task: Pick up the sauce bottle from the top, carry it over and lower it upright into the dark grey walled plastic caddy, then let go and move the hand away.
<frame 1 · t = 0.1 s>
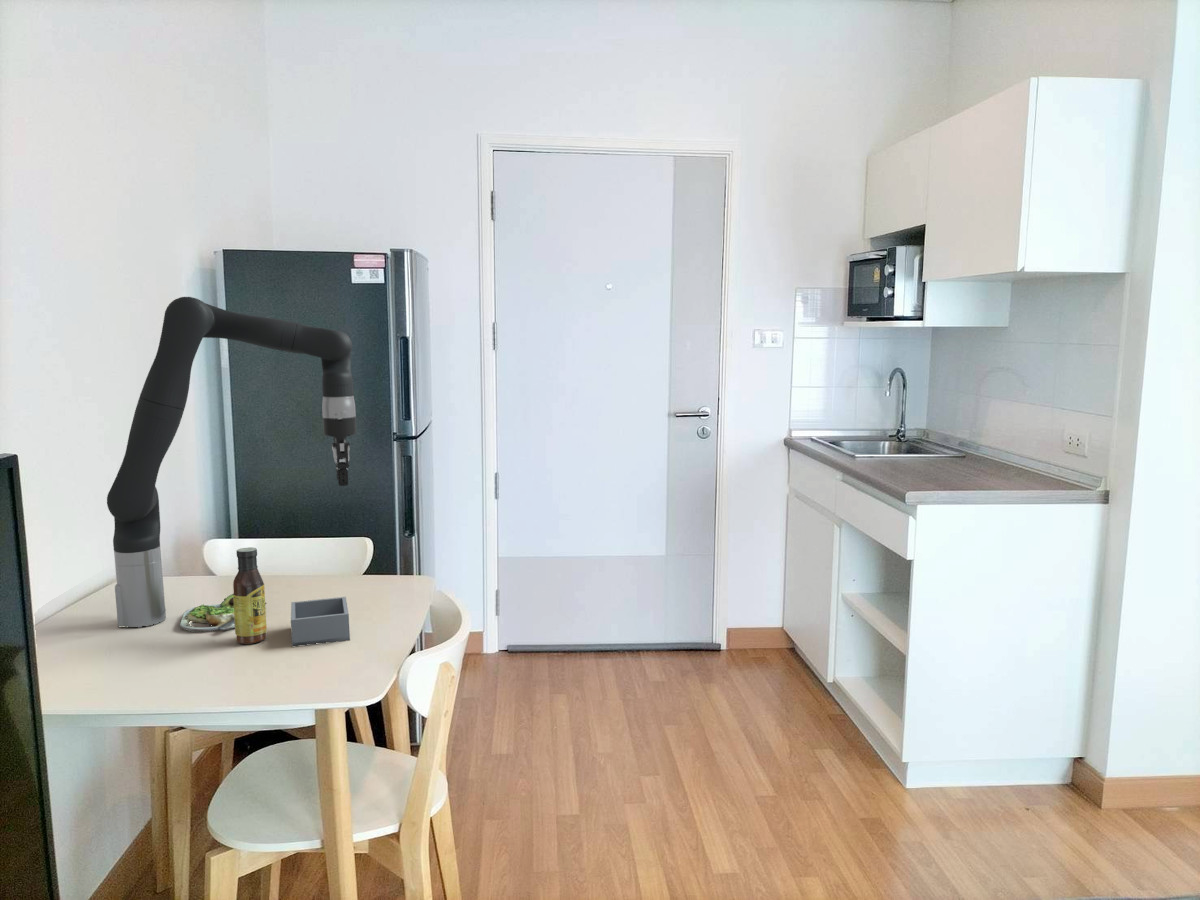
hand: (342, 482, 207), 29 cm above the table, tool pointing down, fingers open, 8 cm apart
bottle caddy: (320, 633, 188), on the table
sauce bottle: (252, 640, 184), on the table
salad plate: (223, 621, 198), on the table
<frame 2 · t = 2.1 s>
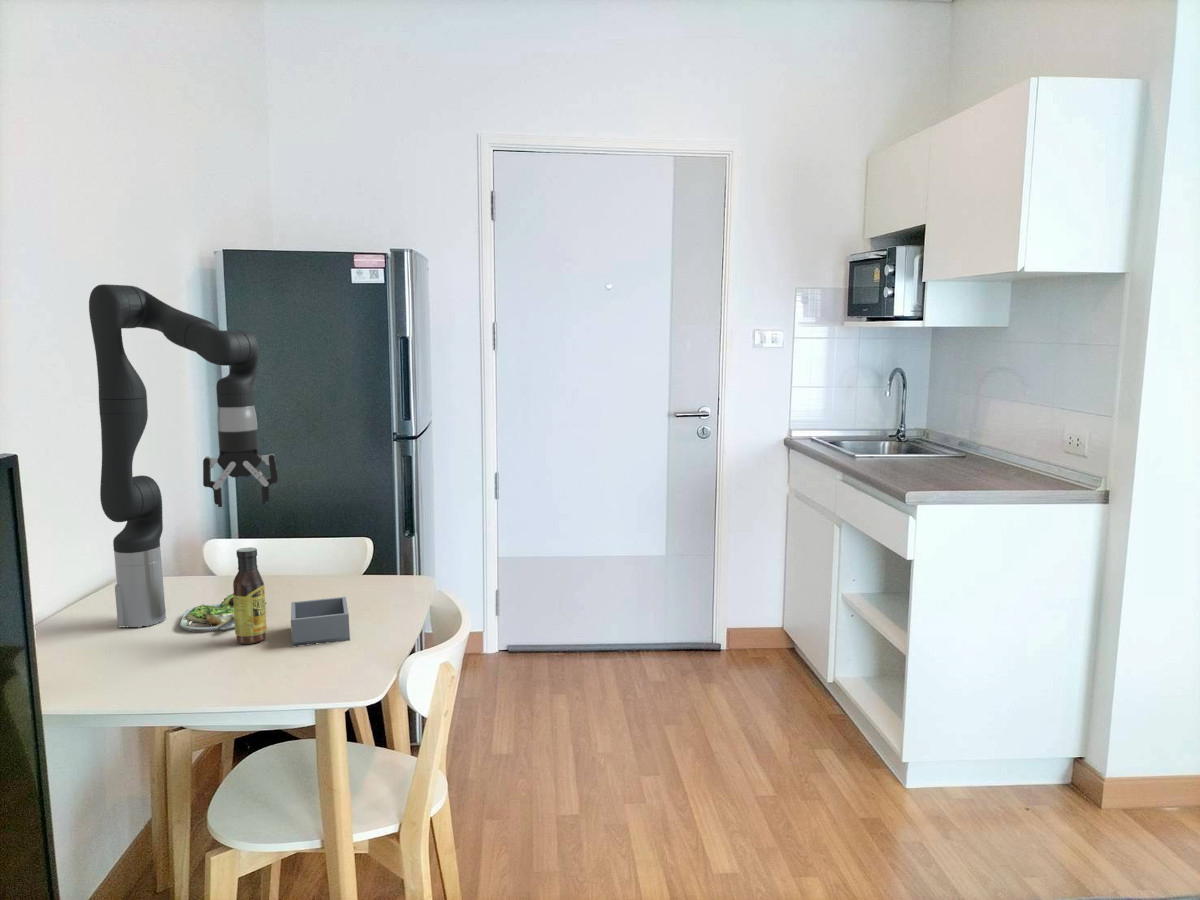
hand: (242, 505, 180), 29 cm above the table, tool pointing down, fingers open, 8 cm apart
nothing on the table moved.
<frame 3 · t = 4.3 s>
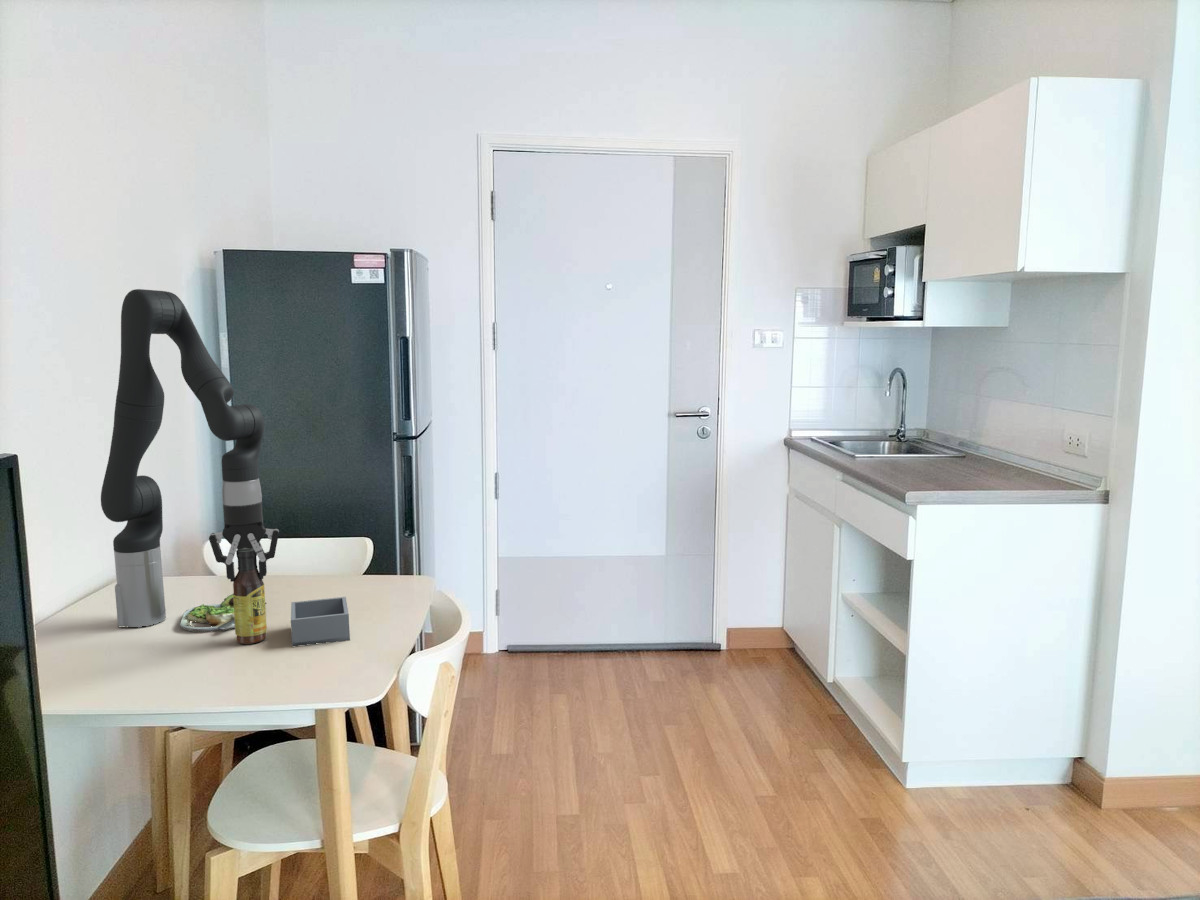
hand: (247, 578, 182), 13 cm above the table, tool pointing down, fingers closed on sauce bottle, 5 cm apart
sauce bottle: (252, 640, 184), on the table, touching gripper
everything else where it was.
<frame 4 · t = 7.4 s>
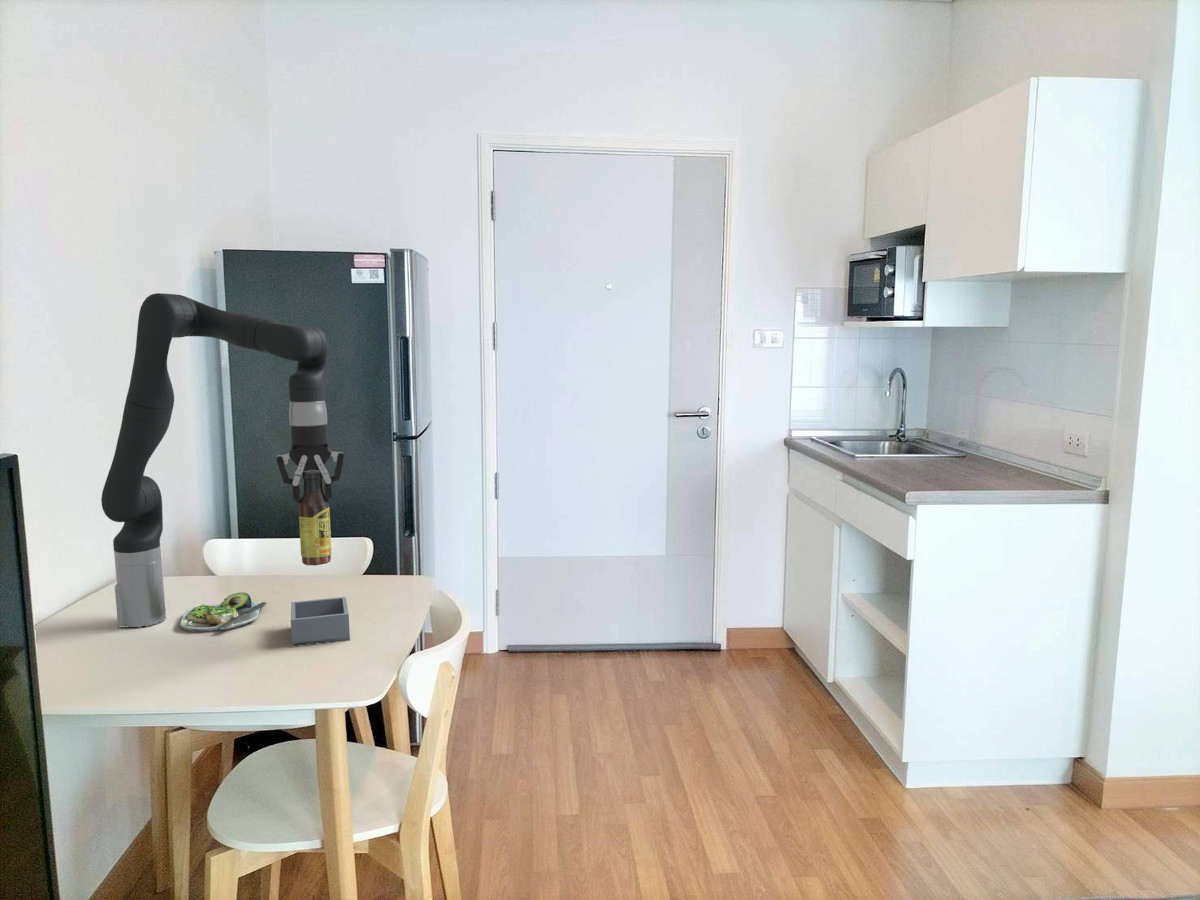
hand: (313, 501, 184), 29 cm above the table, tool pointing down, fingers closed on sauce bottle, 5 cm apart
sauce bottle: (317, 563, 186), point 16 cm above the table, touching gripper
everything else where it was.
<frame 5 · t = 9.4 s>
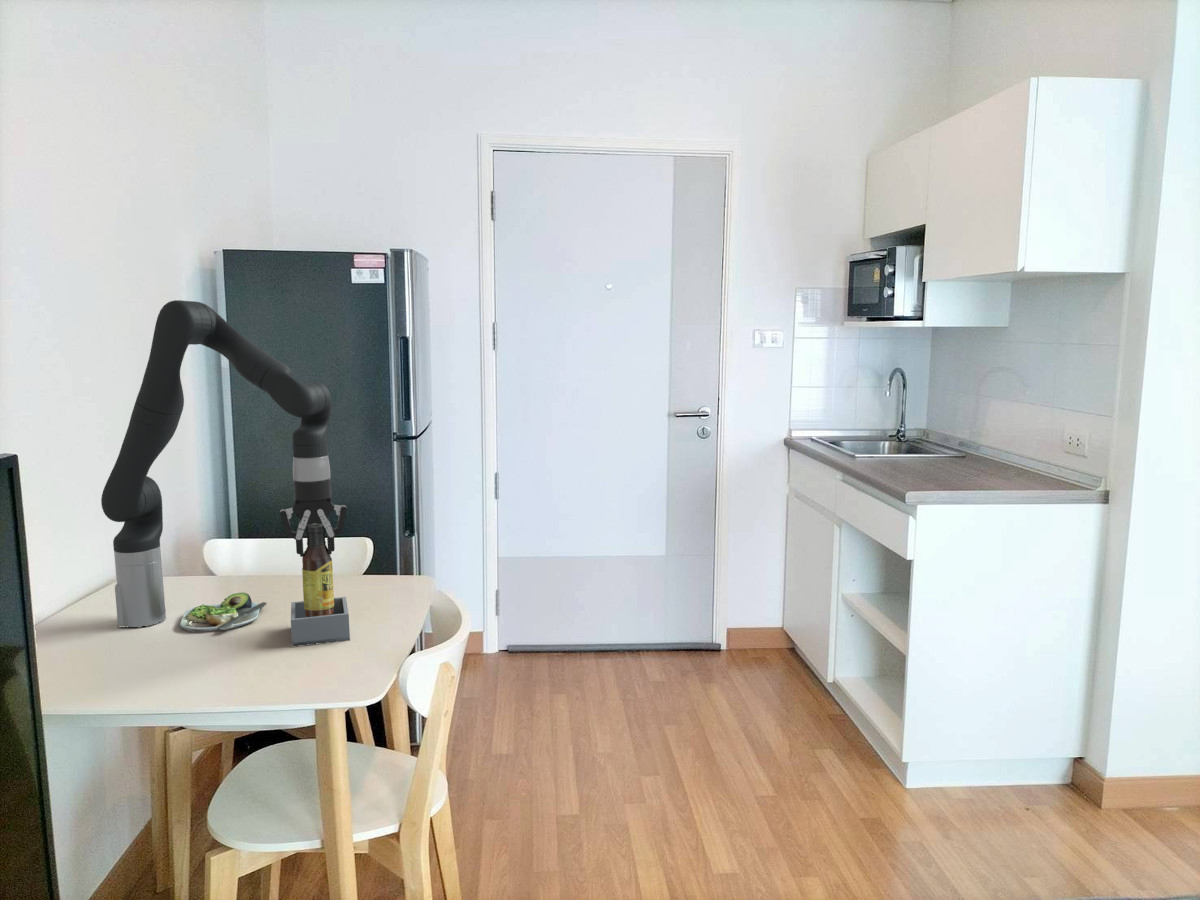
hand: (316, 554, 185), 18 cm above the table, tool pointing down, fingers closed on sauce bottle, 5 cm apart
sauce bottle: (319, 615, 187), point 4 cm above the table, touching gripper
everything else where it was.
when the fingers open (16 cm above the table, at t = 10.8 s): sauce bottle drops 1 cm, resting on bottle caddy.
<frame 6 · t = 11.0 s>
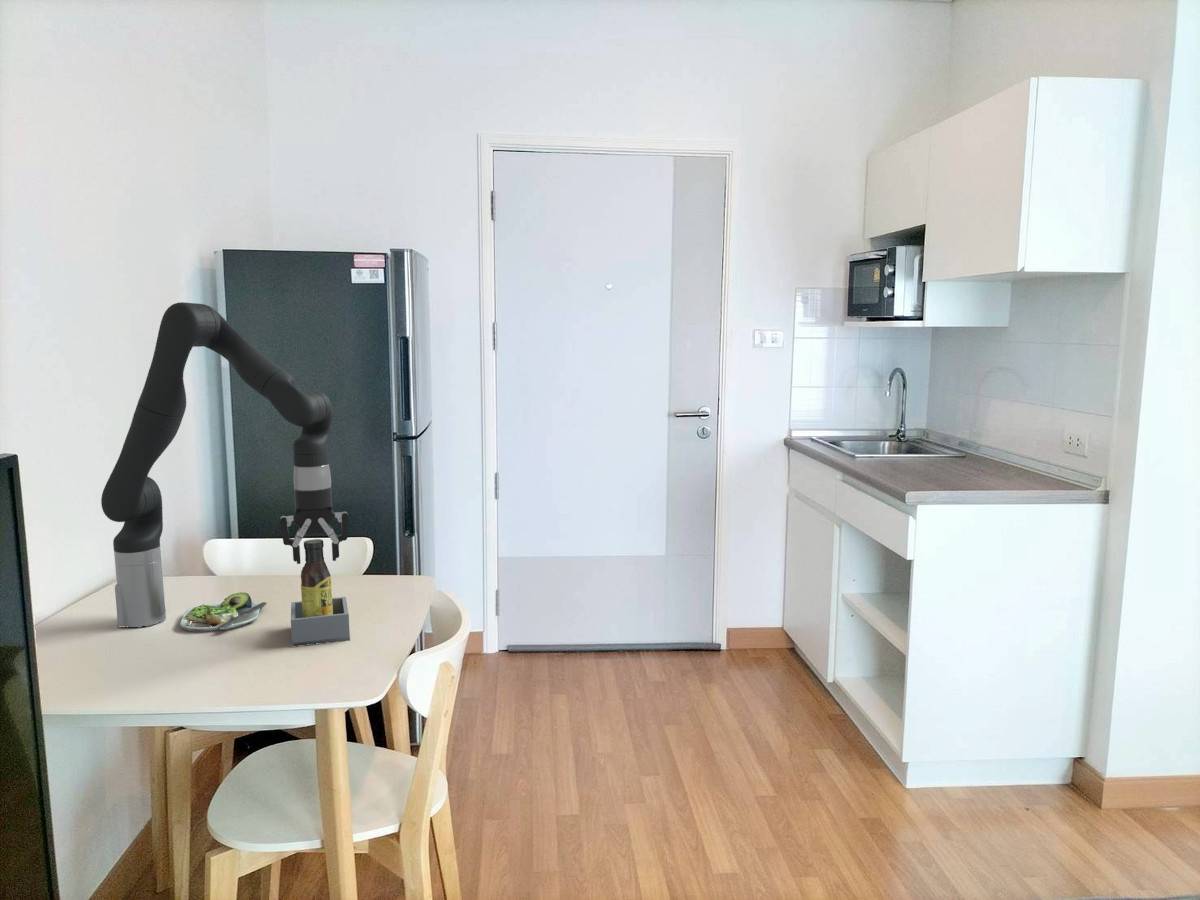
hand: (316, 561, 186), 16 cm above the table, tool pointing down, fingers open, 6 cm apart
sauce bottle: (319, 630, 188), point 1 cm above the table, touching bottle caddy
everything else where it was.
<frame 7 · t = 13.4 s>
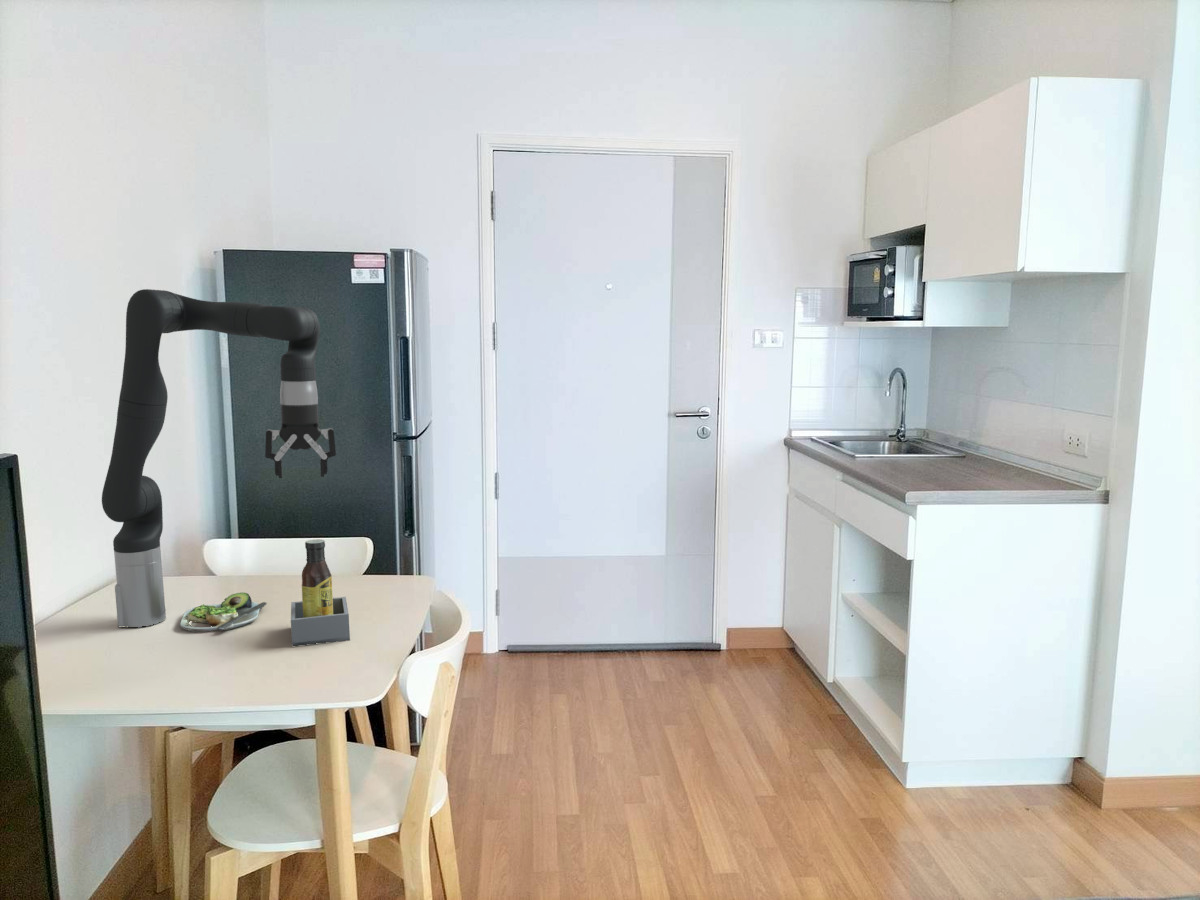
hand: (301, 476, 186), 34 cm above the table, tool pointing down, fingers open, 8 cm apart
nothing on the table moved.
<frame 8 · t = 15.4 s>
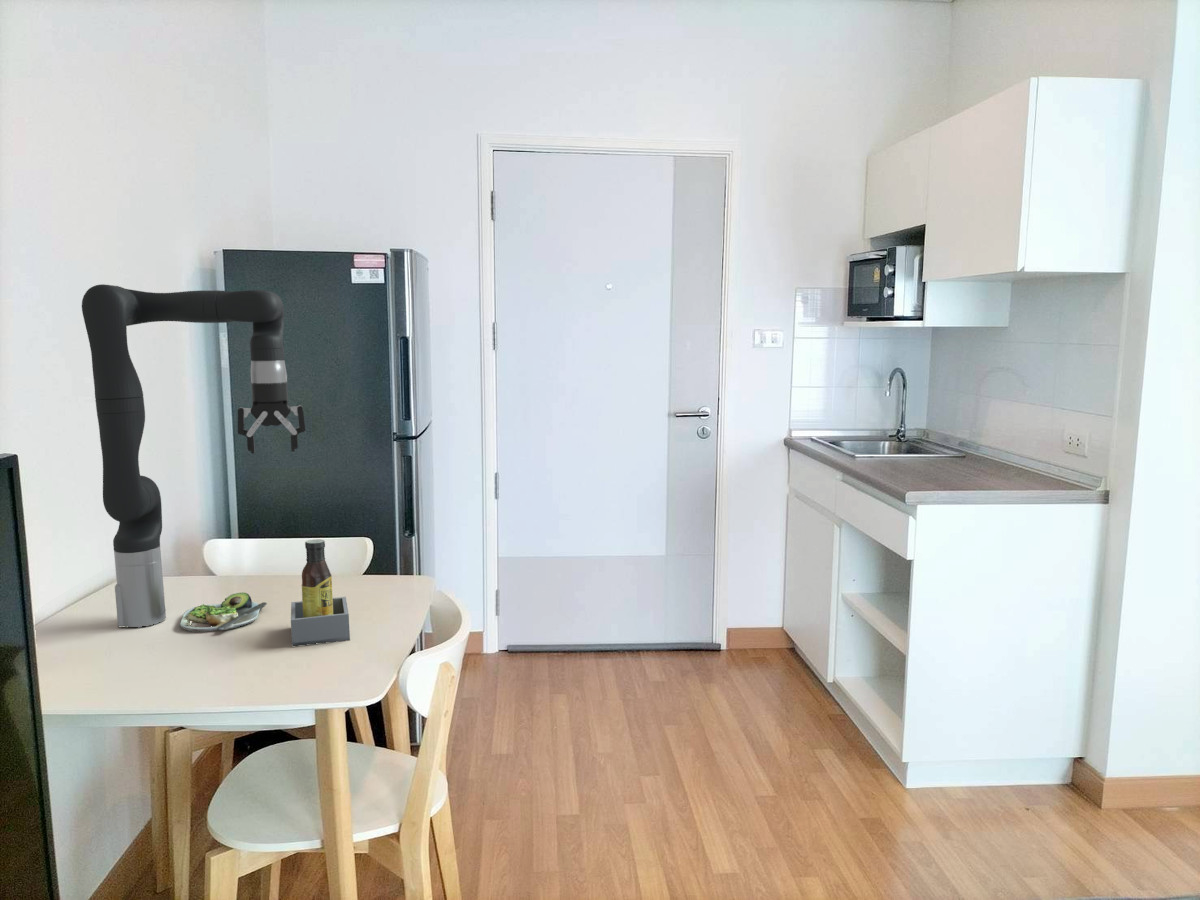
hand: (273, 452, 196), 38 cm above the table, tool pointing down, fingers open, 8 cm apart
nothing on the table moved.
at the end: sauce bottle 0.3 cm off-centre on the bottle caddy, point 0.6 cm above the bottle caddy's base; sauce bottle tilted 0°; the gripper is holding nothing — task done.
